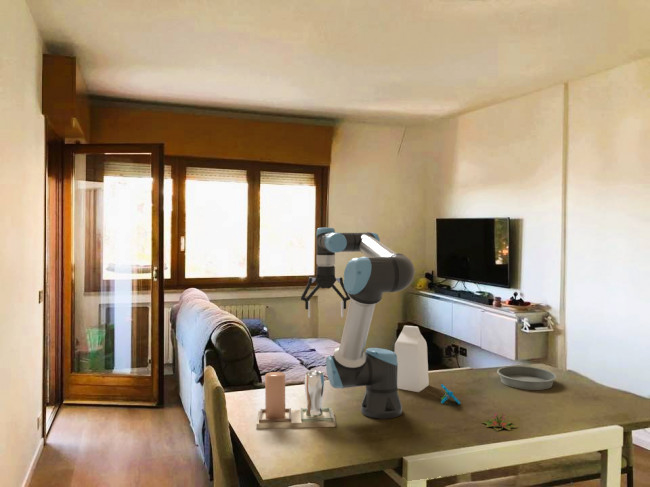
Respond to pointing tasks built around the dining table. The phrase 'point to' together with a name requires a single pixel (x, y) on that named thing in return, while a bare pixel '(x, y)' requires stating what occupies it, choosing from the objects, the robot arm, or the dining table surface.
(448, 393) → the toy gun
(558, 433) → the dining table surface
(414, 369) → the milk
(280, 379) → the tan tall block
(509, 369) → the cake pan
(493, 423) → the lily flower
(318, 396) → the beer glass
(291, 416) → the board
